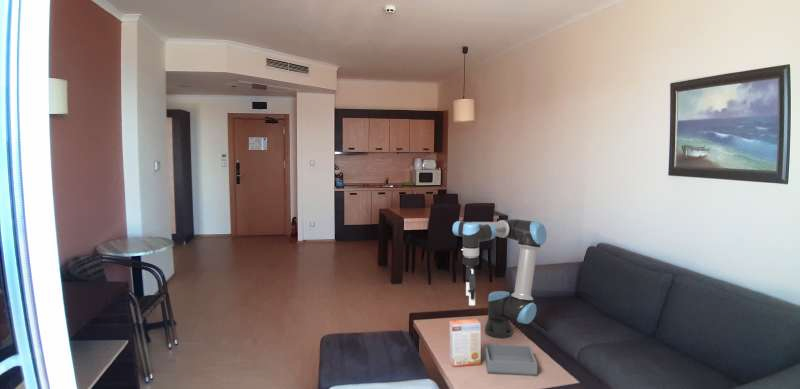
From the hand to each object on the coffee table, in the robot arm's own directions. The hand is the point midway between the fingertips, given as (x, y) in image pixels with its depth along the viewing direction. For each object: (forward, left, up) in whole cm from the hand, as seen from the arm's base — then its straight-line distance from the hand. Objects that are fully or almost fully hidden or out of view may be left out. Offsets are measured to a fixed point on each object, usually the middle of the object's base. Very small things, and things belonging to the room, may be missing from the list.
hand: (470, 300), depth 208 cm
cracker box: (-1, -2, -32) cm, 32 cm away
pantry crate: (-1, +19, -32) cm, 37 cm away
